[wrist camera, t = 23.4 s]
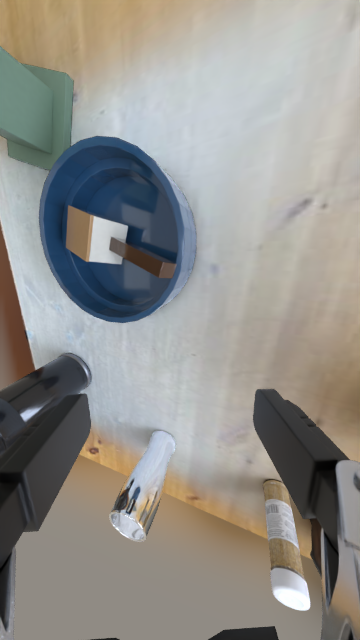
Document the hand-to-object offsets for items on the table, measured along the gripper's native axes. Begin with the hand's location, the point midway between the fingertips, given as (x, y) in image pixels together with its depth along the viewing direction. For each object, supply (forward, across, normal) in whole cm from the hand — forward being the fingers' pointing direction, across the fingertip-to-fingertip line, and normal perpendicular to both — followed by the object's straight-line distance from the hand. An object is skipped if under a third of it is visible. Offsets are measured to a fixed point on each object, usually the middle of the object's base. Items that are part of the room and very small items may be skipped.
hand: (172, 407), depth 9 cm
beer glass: (+28, +2, +30) cm, 41 cm away
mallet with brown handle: (+20, +5, -10) cm, 23 cm away
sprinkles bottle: (+20, -20, +34) cm, 44 cm away
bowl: (+24, +6, -11) cm, 28 cm away
